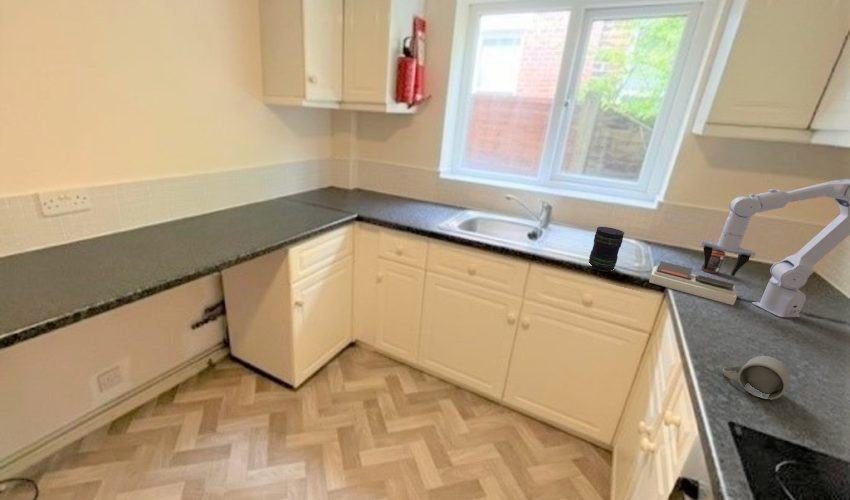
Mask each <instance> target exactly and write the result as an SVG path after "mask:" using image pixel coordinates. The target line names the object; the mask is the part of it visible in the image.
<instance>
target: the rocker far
mask: <svg viewBox="0 0 850 500" xmlns="http://www.w3.org/2000/svg"><path fill="white" fill-rule="evenodd" d="M658 266H659V268H658V271H657V272H660V273H664V274H668V275H672V276H676V277H680V278H684V279H688V280H690V276H691V274H692V271H693V268H691V267H688V266H687V267H686V266H683V265H679V264H675V263H670V262H667V261H663V260H661V261H660V263H659V265H658Z"/></svg>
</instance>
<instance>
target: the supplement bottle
mask: <svg viewBox="0 0 850 500" xmlns="http://www.w3.org/2000/svg"><path fill="white" fill-rule="evenodd" d="M725 256H726V252H725V251H720V250H716V249H712V254H711V257H710V259H709V262H708V266H707V269H704V264H705V258H704V259H703V262H702V265H701V270H702V271H703V272H706V273H708V274H715V275H716V274H718V273H719V272H720V270H721V267H722V265H723V261H724V258H725Z"/></svg>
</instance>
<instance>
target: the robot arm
mask: <svg viewBox="0 0 850 500" xmlns="http://www.w3.org/2000/svg"><path fill="white" fill-rule="evenodd" d="M822 197H826V198H830V199H831V198H832V199H834V200H835V201H836V202H837V205H838V207H839V213H840V214H838V216H837V217H835V218H834V219H833V220H832V221H831V222H829V223H828V225H827V226H825V227H824V228H823V229H822V230H821V231H820V232H818V233H817V234H816V235H815V236H814V237H813V238H811V239H810V240H809V241H808V242H807V243H806V244H805V245H804V246H803V247H802V248H801V249H799V250H798V251H797V252H796V253H794V254H791V255H789V256H786V257H784V259H782V260H781V261H777V262H775V263H773V265H771V267H770V269H769V270H770V271H769V272H770V275H771V277H770V278H769V280H768V283H767V285H766V288H765V290H764V292H763V295H762V297H761V299H760V301H753V302H751V304H753V305H754V306H757V307H758V308H761V309H762V310H765V311H766V312H769V313H771V314H773V315H775V316H777V317H779V318H800V316H801V315H800V313H801V311H802V309H803V307H804V304H805V302H806V300H807V295H806V294H805V292H802V291H800V290H799V289H800V288H802V287H803V286H805V285H806V284H807V281H808V279H809V277H810V276H811V275H812V274H813V273H814V269H815V265H816V264H817V263H818V262H820V260H821V261H822V259H823V258H824V257H825V256H826V255H828V254H829V253H830V252H831V251H833V250H834V249H835V248H836V247H837V246H838V245H839V244H841V243H842V242H843V241H844V240H845V239H847V238H848V237H849V236H850V178H842V179H835V180H830V181H826V182H822V183H818V184H813V185H809V186H806V187H801V188H798V189H797V188H796V189H794V190H789V191H783V190H781V189H774V188H771V189H770V188H769V189H768V190H767V191H766V192H761V193H757V194H754V193H750V194H749V196H748V197H747V196H743V195H742V196H737V197H735V198H734V199H732V200H731V201H730V203H729V204H728V207H729V208H728V209H729V210H730V211H729V213H728V216H727V218H726V220H725V223H724V226H723V228H722V231H721V234H720V236H719V239H718V242H717V241H716V242H715V241H709V240H703V239H702V240H701V242H700V246H699V247H700V248H703V255H704V259H705V264H704V269H707V266H708V262H709V259H710V257H711V254H712V249H716V250H720V251H724V252H725V253H730V254H735V255H738V256H737V257H736V258H737V259H736V261H735V264H734V266H733V268H732V270H731V273H730V275H731V276H732V277H735V275H736V274H737V272H738V271H739V270H740V269H741V268H742V267H743V266H744V265H746V264H747V263H748V262H749V261H750V259H754V258H755V257H756V254H757V252H756V250H751V249H747V248H744V247H740V246H741V244H742V242H743V239H744V237H745V233H746V231H747V229H748V226H749V223H750V220H751V218H752V217H753V216H755V215H756V214H758V213H763V212H768V211H772V210H773V211H774V210H778V209H784V208H785V207H786V206H787V205H788V204H789V203H792V202H793V203H794V202H799V201H806V200H810V199H817V198H822Z"/></svg>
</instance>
